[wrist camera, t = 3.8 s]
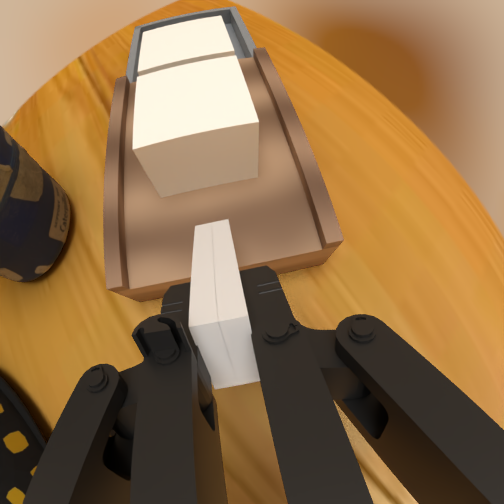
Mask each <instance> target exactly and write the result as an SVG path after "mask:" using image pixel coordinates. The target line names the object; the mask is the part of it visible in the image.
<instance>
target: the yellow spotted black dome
mask: <svg viewBox="0 0 504 504" xmlns="http://www.w3.org/2000/svg"><path fill="white" fill-rule="evenodd" d="M46 445H47V444H46V442H45V440H44V438H43V436H42V434H41V432H40V430H39V428H38V427H37V425H36V423H35V421H34V420H33V418H32V416H31V414H30V412H29V411H28V409H27V408H26V407H25V405H24V404H23V402H22V401H21V399H20V398H19V396H18V395H17V394H16V393H15V391H14V390H13V389H12V388H11V387H10V386H9V384H8V383H7V382H6V381H5V380H4V379H3V378H2V377H1V376H0V504H22V503H23V500H24V498H25V495H26V492H27V490H28V487H29V485H30V482H31V480H32V477H33V475H34V472H35V470H36V468H37V465H38V463H39V461H40V458H41V456H42V454H43V452H44V449H45V447H46Z"/></svg>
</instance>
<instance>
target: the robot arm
mask: <svg viewBox="0 0 504 504" xmlns="http://www.w3.org/2000/svg"><path fill="white" fill-rule="evenodd" d="M132 337H133V339H134V341H135V343H136V344H137V346H138V348H139V350H140V351H141V353H142V355H143V357H144V361H143V362H142V363H140V364H138V365H136V366H134V367H132V368H129V369H126V370H124V371H121V372H118V371H117V370H116V368H115V367H114V366H112V365H109V364H99V365H96V366H93V367H91V368H90V369H89V370H87V371H86V372H85V373H84V374H83V376H82V377H81V378H80V380H79V382H78V384H77V385H76V387H75V389H74V391H73V393H72V395H71V397H70V398H69V400H68V402H67V404H66V406H65V408H64V410H63V412H62V414H61V416H60V418H59V420H58V422H57V424H56V426H55V428H54V430H53V432H52V434H51V436H50V438H49V441H48V443H47V445H46V447H45V449H44V452H43V454H42V456H41V458H40V461H39V463H38V465H37V468H36V470H35V472H34V475H33V477H32V480H31V482H30V485H29V487H28V490H27V492H26V495H25V498H24V500H23V503H22V504H228V500H227V493H226V486H225V478H224V470H223V462H222V453H221V444H220V435H219V425H218V415H217V404H216V401H215V398H214V396H213V394H212V385H211V382H212V384H213V386H214V389H220V388H226V387H231V386H237V385H242V384H247V383H253V382H257V381H260V382H261V387H262V391H263V396H264V401H265V405H266V410H267V414H268V419H269V423H270V428H271V432H272V437H273V441H274V446H275V450H276V454H277V459H278V463H279V467H280V472H281V476H282V480H283V484H284V489H285V493H286V497H287V501H288V504H373V501H372V498H371V496H370V493H369V490H368V488H367V485H366V482H365V480H364V477H363V475H362V472H361V469H360V467H359V464H358V462H357V459H356V457H355V454H354V451H353V449H352V446H351V444H350V441H349V439H348V436H347V434H346V431H345V429H344V426H343V424H342V421H341V419H340V416H339V414H338V411H337V409H336V406H335V404H334V401H335V402H336V403H337V404H338V406H339V407H340V408H341V410H342V411H343V412H344V413H345V415H346V416H347V417H348V418H349V420H350V421H351V422H352V423H353V425H354V426H355V427H356V428H357V430H358V431H359V432H360V433H361V435H362V436H363V437H364V438H365V440H366V441H367V442H368V443H369V445H370V446H371V447H372V448H373V449H374V451H375V452H376V453H377V454H378V456H379V457H380V458H381V459H382V460H383V462H384V463H385V464H386V465H387V467H388V468H389V469H390V470H391V471H392V473H393V474H394V475H395V476H396V477H397V479H398V480H399V481H400V482H401V483H402V485H403V486H404V487H405V488H406V489H407V490H408V492H409V493H410V494H411V495H412V496H413V497H414V499H415V500H416V501H417V502H418V503H419V504H504V430H503V429H502V428H501V427H500V426H499V425H498V424H497V423H496V422H495V421H494V420H493V419H491V418H490V417H489V416H488V415H487V414H486V413H485V412H484V411H483V410H482V409H481V408H480V407H479V406H478V405H477V404H475V403H474V402H473V401H472V400H471V399H470V398H469V397H468V396H467V395H466V394H465V393H463V392H462V391H461V390H460V389H459V388H458V387H457V386H456V385H455V384H454V383H452V382H451V381H450V380H449V379H448V378H447V377H446V376H445V375H443V374H442V373H441V372H440V371H439V370H438V369H437V368H436V367H434V366H433V365H432V364H431V363H430V362H429V361H428V360H427V359H425V358H424V357H423V356H422V355H421V354H420V353H419V352H417V351H416V350H415V349H414V348H413V347H412V346H410V345H409V344H408V343H407V342H406V341H405V340H404V339H402V338H401V337H400V336H399V335H398V334H397V333H395V332H394V331H393V330H392V329H391V328H389V327H388V326H387V325H386V324H385V323H384V322H382V321H381V320H379V319H378V318H376V317H374V316H370V315H366V314H359V315H353V316H350V317H346V318H345V319H344V320H342V321H341V322H340V323H339V325H338V327H337V328H336V330H314V329H310V328H307V327H305V326H303V325H301V324H300V323H299V322H298V321H297V320H296V319H295V318H294V316H293V314H292V311H291V309H290V306H289V304H288V301H287V299H286V297H285V294H284V292H283V289H282V287H281V284H280V282H279V280H278V277H277V275H276V272H275V271H274V270H272V269H271V268H270V267H268V266H267V265H265V266H261V267H256V268H251V269H246V270H242V271H239V269H238V264H237V259H236V254H235V249H234V244H233V240H232V235H231V230H230V225H229V220H228V219H226V220H221V221H216V222H212V223H207V224H202V225H197V226H195V233H194V244H193V257H192V271H191V282H188V283H183V284H178V285H172V286H170V287H169V289H168V290H167V291H166V293H165V294H164V297H163V302H162V308H161V314H158V315H155V316H152V317H149V318H147V319H146V320H144V321H142V322H141V323H140V324H139V325H138V326H137V327H136V328H135V329H134V331H133V333H132ZM333 400H334V401H333Z"/></svg>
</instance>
